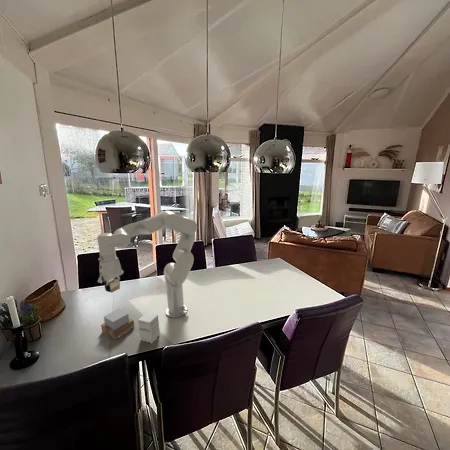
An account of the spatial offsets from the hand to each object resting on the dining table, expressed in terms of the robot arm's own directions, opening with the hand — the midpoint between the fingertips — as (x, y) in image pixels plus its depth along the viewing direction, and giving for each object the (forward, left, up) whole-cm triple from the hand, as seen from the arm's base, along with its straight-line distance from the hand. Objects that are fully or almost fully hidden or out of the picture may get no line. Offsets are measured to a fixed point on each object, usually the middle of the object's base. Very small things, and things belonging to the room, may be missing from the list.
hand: (113, 288), depth 137 cm
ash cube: (0, 0, -1) cm, 1 cm away
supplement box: (-21, -4, -25) cm, 33 cm away
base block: (0, 0, -25) cm, 25 cm away
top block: (0, +1, -20) cm, 20 cm away
